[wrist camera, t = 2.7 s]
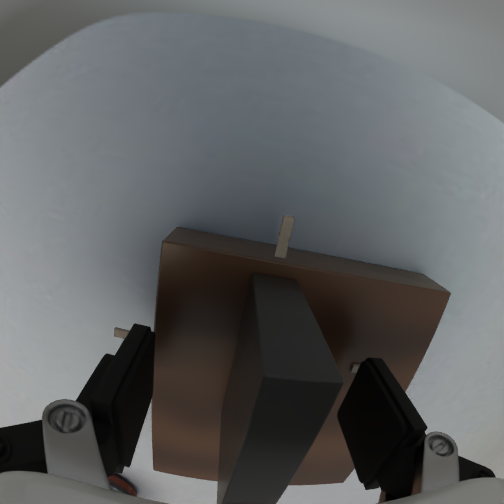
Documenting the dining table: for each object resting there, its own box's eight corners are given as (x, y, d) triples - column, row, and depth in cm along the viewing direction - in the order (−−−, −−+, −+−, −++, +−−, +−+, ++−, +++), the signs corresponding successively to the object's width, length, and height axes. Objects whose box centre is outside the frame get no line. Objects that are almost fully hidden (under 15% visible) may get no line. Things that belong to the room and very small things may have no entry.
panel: (146, 182, 12) (122, 187, 9) (433, 243, 13) (465, 259, 10) (136, 436, 16) (126, 465, 13) (335, 456, 17) (343, 484, 14)
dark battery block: (252, 272, 10) (265, 383, 5) (297, 280, 10) (349, 389, 5) (221, 415, 12) (215, 525, 7) (256, 419, 12) (264, 527, 7)
